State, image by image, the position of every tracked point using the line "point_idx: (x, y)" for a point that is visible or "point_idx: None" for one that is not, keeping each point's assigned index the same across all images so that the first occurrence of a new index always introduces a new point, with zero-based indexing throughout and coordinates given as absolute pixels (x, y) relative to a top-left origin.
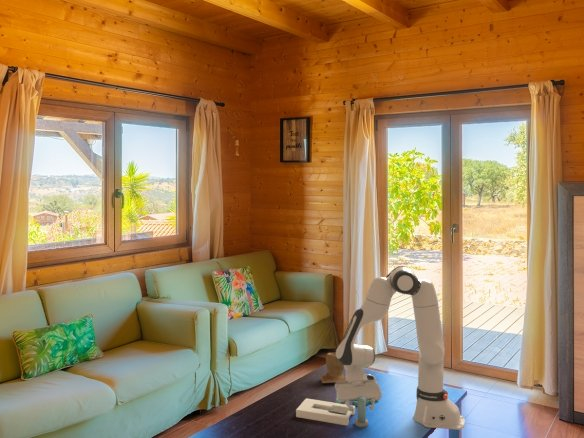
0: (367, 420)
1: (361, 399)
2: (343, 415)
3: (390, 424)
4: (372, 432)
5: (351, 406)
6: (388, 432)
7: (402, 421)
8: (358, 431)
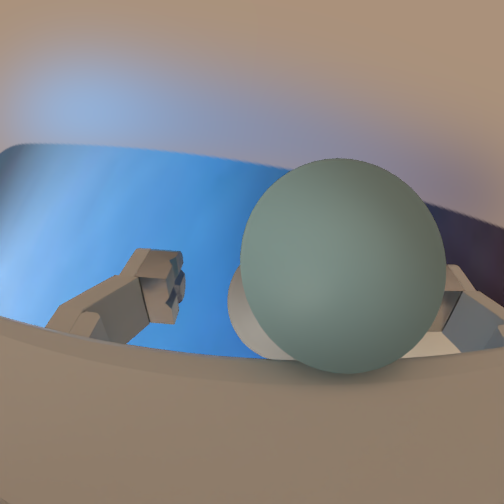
0: (230, 302)
1: (382, 173)
2: (441, 353)
3: (78, 255)
4: (248, 162)
5: (456, 286)
6: (145, 149)
7: (9, 279)
8: None
